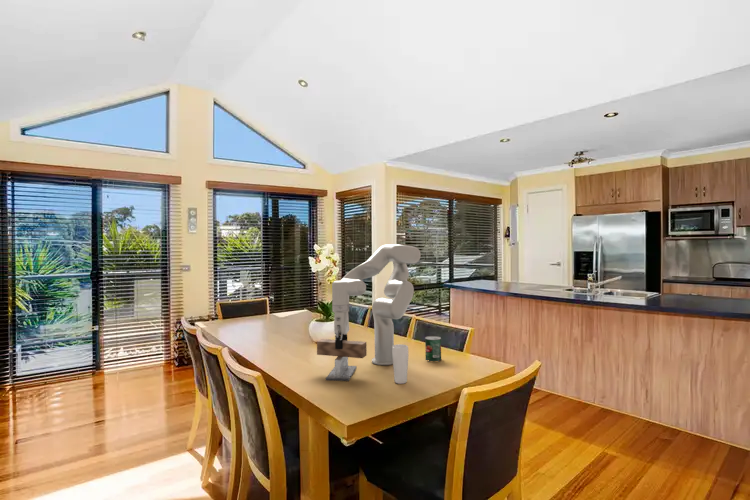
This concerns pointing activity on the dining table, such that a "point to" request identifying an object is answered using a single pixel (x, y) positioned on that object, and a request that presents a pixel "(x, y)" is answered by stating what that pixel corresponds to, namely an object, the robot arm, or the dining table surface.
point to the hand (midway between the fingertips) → (341, 346)
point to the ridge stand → (341, 370)
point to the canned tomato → (433, 348)
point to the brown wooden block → (349, 349)
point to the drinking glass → (400, 363)
